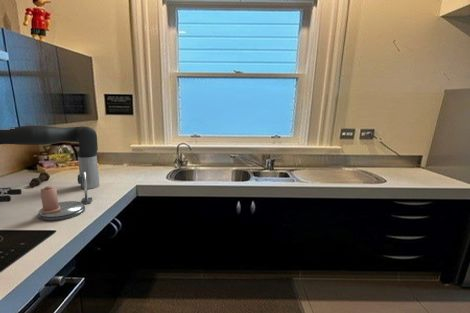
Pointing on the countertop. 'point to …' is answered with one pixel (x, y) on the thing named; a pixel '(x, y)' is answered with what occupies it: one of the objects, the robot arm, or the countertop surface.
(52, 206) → the cover
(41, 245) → the countertop surface
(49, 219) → the base
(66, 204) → the disc
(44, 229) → the countertop surface
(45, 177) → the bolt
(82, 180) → the dial gauge
